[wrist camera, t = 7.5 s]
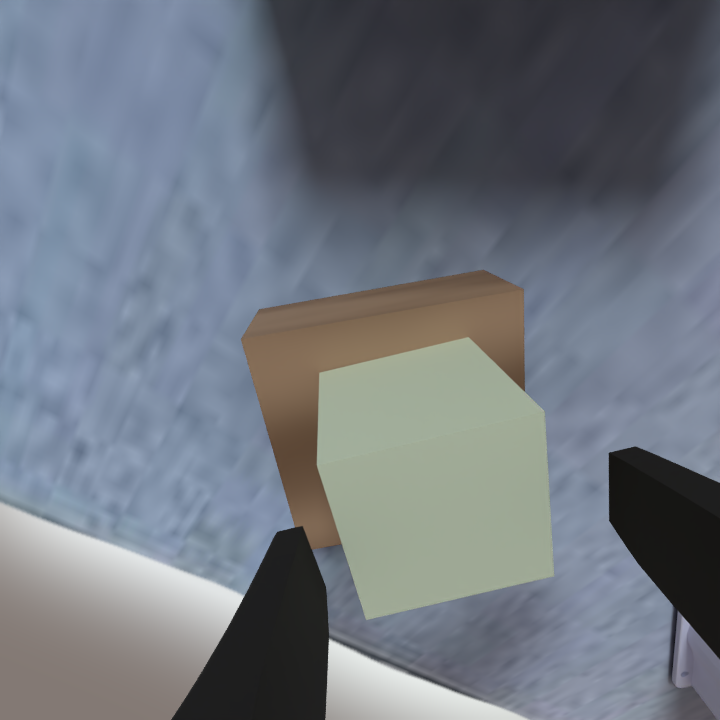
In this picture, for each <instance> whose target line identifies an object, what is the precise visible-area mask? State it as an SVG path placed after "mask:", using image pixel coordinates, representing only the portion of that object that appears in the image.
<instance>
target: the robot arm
mask: <svg viewBox="0 0 720 720" xmlns="http://www.w3.org/2000/svg"><path fill="white" fill-rule="evenodd" d="M609 521H610V523H611V524H612V526H613V527H614V529H615V530H616V532H617V533H618V535H619V536H620V538H621V539H622V541H623V542H624V544H625V545H626V547H627V548H628V550H629V551H630V553H631V554H632V555H633V557H634V558H635V560H636V561H637V563H638V564H639V565H640V566H641V568H642V569H643V570H644V571H645V572H646V574H647V575H648V576H649V577H650V578H651V580H652V581H653V582H654V583H655V584H656V586H657V587H658V588H659V589H660V590H661V591H662V593H663V594H664V595H665V596H666V597H667V599H668V600H669V601H670V602H671V603H672V604H673V606H674V607H675V608H676V609H677V610H678V615H677V626H676V638H675V649H674V661H673V672H672V681H673V683H674V684H675V686H676V687H678V688H685V687H689V686H693V688H694V689H695V690H696V692H697V693H698V694H699V696H700V697H701V698H702V700H703V701H704V702H705V704H706V705H707V706H708V708H709V709H710V710H711V712H712V713H713V715H714V716H715V717H716V719H717V720H720V483H719V482H716V481H714V480H712V479H710V478H707V477H705V476H703V475H700V474H698V473H696V472H694V471H691V470H689V469H687V468H685V467H682V466H680V465H678V464H676V463H673V462H671V461H669V460H667V459H664V458H662V457H660V456H657V455H655V454H653V453H650V452H648V451H645V450H643V449H640V448H638V447H631V448H627V449H623V450H618V451H614V452H610V453H609ZM328 645H329V628H328V610H327V595H326V586H325V583H324V581H323V578H322V575H321V573H320V570H319V567H318V565H317V562H316V559H315V557H314V554H313V552H312V549H311V546H310V544H309V541H308V538H307V536H306V533H305V530H304V528H303V526H300V527H295V528H291V529H287V530H283V531H279V532H277V533H276V535H275V536H274V538H273V540H272V542H271V544H270V546H269V548H268V550H267V553H266V555H265V557H264V559H263V561H262V563H261V565H260V567H259V569H258V571H257V573H256V575H255V577H254V579H253V581H252V583H251V585H250V587H249V589H248V591H247V593H246V594H245V596H244V598H243V600H242V602H241V604H240V606H239V608H238V610H237V611H236V613H235V615H234V617H233V619H232V621H231V623H230V624H229V626H228V628H227V630H226V631H225V633H224V635H223V637H222V638H221V640H220V642H219V644H218V645H217V647H216V649H215V650H214V652H213V654H212V655H211V657H210V659H209V661H208V662H207V664H206V666H205V667H204V669H203V671H202V672H201V674H200V676H199V677H198V679H197V681H196V682H195V684H194V685H193V687H192V689H191V690H190V692H189V693H188V695H187V697H186V698H185V700H184V701H183V703H182V704H181V706H180V707H179V709H178V710H177V712H176V713H175V715H174V716H173V718H172V719H171V720H325V714H326V713H325V712H326V692H327V670H328Z"/></svg>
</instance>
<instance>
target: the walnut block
mask: <svg viewBox="0 0 720 720" xmlns="http://www.w3.org/2000/svg"><path fill="white" fill-rule="evenodd" d="M467 337H469V338H470V339H471V340H472V341H473V342H474V343H475V344H476V345H477V346H478V347H479V348H480V349H481V350H482V351H483V352H484V353H485V354H486V355H487V356H488V357H489V358H490V359H492V360H493V361H494V362H495V363H496V364H497V365H498V366H499V367H500V368H501V369H502V370H503V371H504V372H505V373H506V374H507V375H508V376H509V377H510V378H511V379H512V380H513V381H514V382H515V383H516V384H517V385H518V386H519V387H520V388H521V389H522V390H523V391H524V392H525V372H524V289H522V288H520V287H518V286H516V285H514V284H512V283H510V282H507V281H505V280H503V279H501V278H499V277H497V276H495V275H493V274H491V273H489V272H487V271H485V270H480V271H474V272H469V273H463V274H457V275H452V276H446V277H440V278H435V279H429V280H423V281H418V282H412V283H406V284H401V285H395V286H389V287H384V288H378V289H372V290H367V291H361V292H355V293H349V294H344V295H338V296H332V297H327V298H321V299H315V300H310V301H304V302H298V303H293V304H287V305H281V306H276V307H270V308H264V309H259V311H258V312H257V314H256V315H255V317H254V319H253V320H252V322H251V324H250V325H249V327H248V329H247V330H246V332H245V334H244V335H243V337H242V338H241V341H242V344H243V348H244V351H245V355H246V358H247V362H248V365H249V369H250V372H251V376H252V379H253V383H254V386H255V389H256V393H257V396H258V400H259V403H260V407H261V410H262V414H263V417H264V421H265V424H266V428H267V431H268V435H269V438H270V442H271V445H272V448H273V452H274V455H275V459H276V462H277V466H278V469H279V473H280V476H281V480H282V483H283V487H284V490H285V494H286V497H287V501H288V504H289V507H290V511H291V514H292V518H293V521H294V525H295V527H300V526H303V528H304V530H305V533H306V536H307V538H308V541H309V544H310V546H311V549H318V548H323V547H329V546H335V545H340V544H342V543H341V540H340V536H339V533H338V530H337V527H336V524H335V521H334V518H333V515H332V511H331V508H330V505H329V502H328V499H327V496H326V493H325V490H324V486H323V483H322V480H321V477H320V474H319V471H318V468H317V439H318V403H319V373H320V372H324V371H329V370H333V369H337V368H341V367H345V366H349V365H354V364H358V363H362V362H366V361H370V360H375V359H379V358H383V357H387V356H391V355H396V354H400V353H404V352H408V351H412V350H417V349H421V348H425V347H429V346H433V345H438V344H442V343H446V342H450V341H454V340H459V339H463V338H467Z"/></svg>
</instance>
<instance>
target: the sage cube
mask: <svg viewBox="0 0 720 720" xmlns="http://www.w3.org/2000/svg"><path fill="white" fill-rule="evenodd" d="M317 468H318V471H319V474H320V477H321V480H322V483H323V486H324V490H325V493H326V496H327V499H328V502H329V505H330V508H331V511H332V515H333V518H334V521H335V524H336V527H337V530H338V533H339V536H340V540H341V543H342V546H343V549H344V552H345V555H346V558H347V561H348V565H349V568H350V571H351V574H352V577H353V580H354V583H355V586H356V589H357V593H358V596H359V599H360V602H361V605H362V608H363V611H364V614H365V618H366V620H368V619H373V618H377V617H381V616H386V615H390V614H394V613H398V612H403V611H407V610H411V609H416V608H420V607H424V606H428V605H433V604H437V603H441V602H446V601H450V600H454V599H458V598H463V597H467V596H471V595H476V594H480V593H484V592H488V591H493V590H497V589H501V588H506V587H510V586H514V585H518V584H523V583H527V582H531V581H536V580H540V579H544V578H548V577H553V576H554V566H553V549H552V531H551V514H550V497H549V479H548V462H547V444H546V427H545V411H544V410H543V409H542V408H540V407H539V406H538V405H537V404H536V403H535V402H534V401H533V400H532V399H531V398H530V397H529V396H528V395H527V394H526V393H525V392H524V391H523V390H522V389H521V388H520V387H519V386H518V385H517V384H516V383H515V382H514V381H513V380H512V379H511V378H510V377H509V376H508V375H507V374H506V373H505V372H504V371H503V370H502V369H501V368H500V367H499V366H498V365H497V364H496V363H495V362H494V361H493V360H492V359H490V358H489V357H488V356H487V355H486V354H485V353H484V352H483V351H482V350H481V349H480V348H479V347H478V346H477V345H476V344H475V343H474V342H473V341H472V340H471V339H470V338H469V337H467V338H463V339H459V340H454V341H450V342H446V343H442V344H438V345H433V346H429V347H425V348H421V349H417V350H412V351H408V352H404V353H400V354H396V355H391V356H387V357H383V358H379V359H375V360H370V361H366V362H362V363H358V364H354V365H349V366H345V367H341V368H337V369H333V370H329V371H324V372H320V373H319V403H318V439H317Z"/></svg>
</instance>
